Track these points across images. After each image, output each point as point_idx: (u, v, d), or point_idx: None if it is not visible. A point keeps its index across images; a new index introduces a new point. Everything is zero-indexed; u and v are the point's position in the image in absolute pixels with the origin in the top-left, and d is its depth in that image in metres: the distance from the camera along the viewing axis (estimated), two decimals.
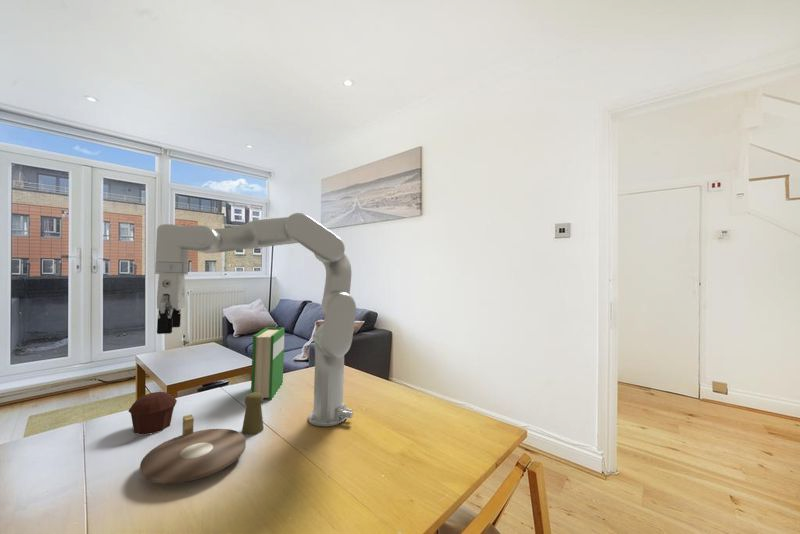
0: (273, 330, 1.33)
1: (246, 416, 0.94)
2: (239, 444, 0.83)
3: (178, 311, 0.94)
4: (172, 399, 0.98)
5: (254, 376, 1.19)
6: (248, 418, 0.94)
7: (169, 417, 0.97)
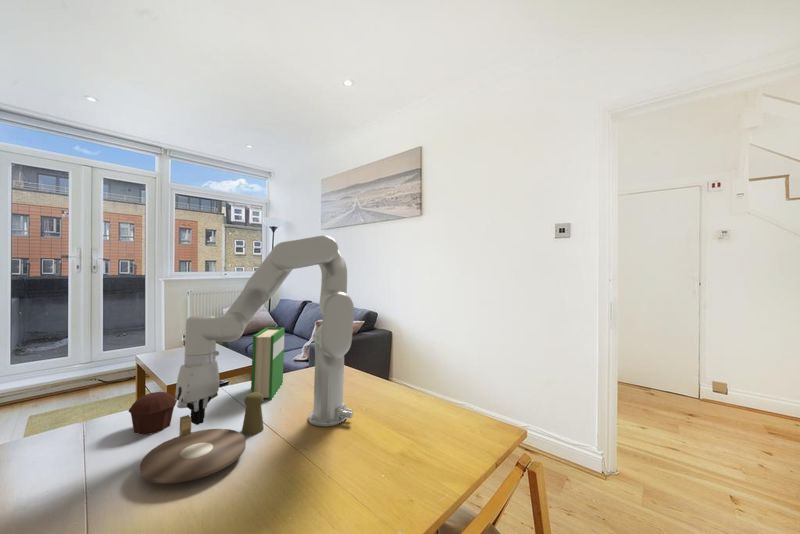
0: (273, 330, 1.33)
1: (246, 416, 0.94)
2: (239, 443, 0.83)
3: None
4: (172, 399, 0.98)
5: (254, 376, 1.19)
6: (248, 418, 0.94)
7: (169, 417, 0.97)
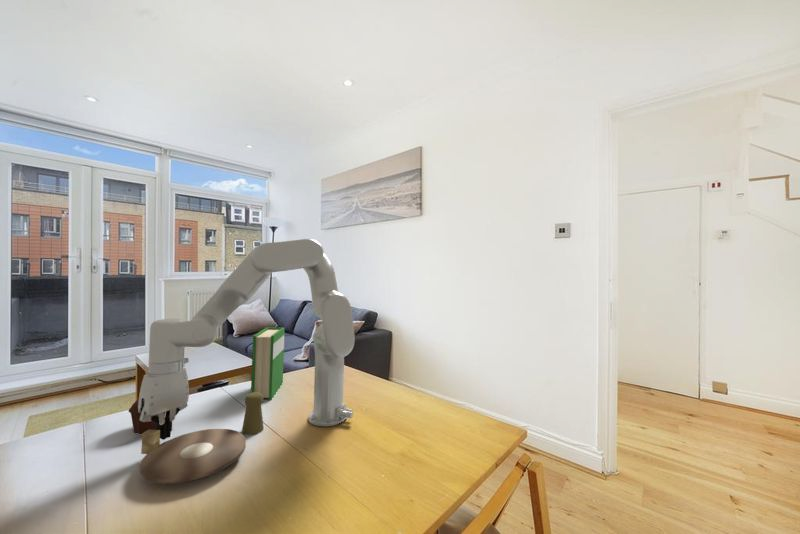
0: (273, 330, 1.33)
1: (246, 416, 0.94)
2: (232, 433, 0.88)
3: None
4: None
5: (254, 376, 1.19)
6: (248, 418, 0.94)
7: None
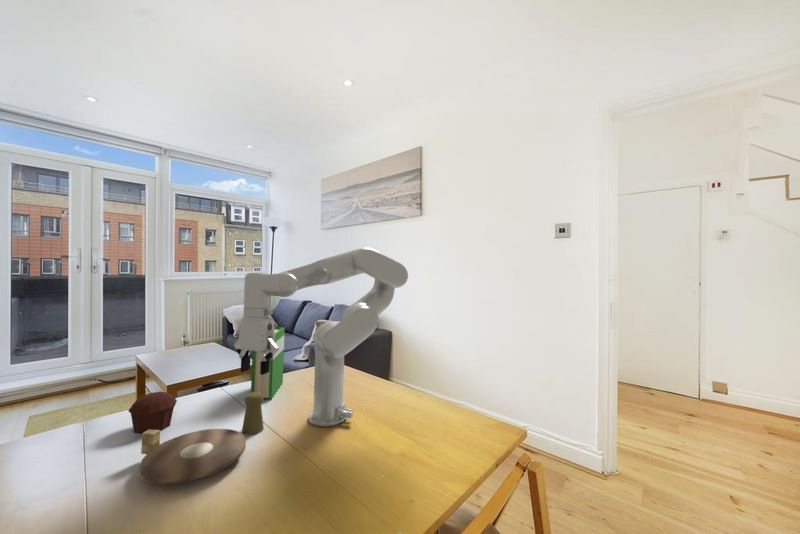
0: None
1: (246, 416, 0.94)
2: (232, 433, 0.88)
3: (248, 354, 0.99)
4: (172, 399, 0.98)
5: (254, 376, 1.19)
6: (248, 418, 0.94)
7: (169, 417, 0.97)
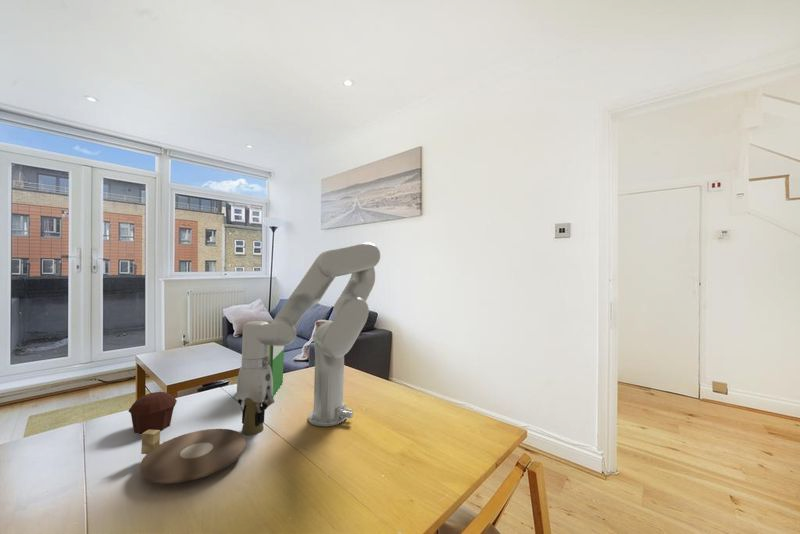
0: None
1: (246, 416, 0.94)
2: (232, 433, 0.88)
3: None
4: (172, 399, 0.98)
5: None
6: (248, 418, 0.94)
7: (169, 417, 0.97)
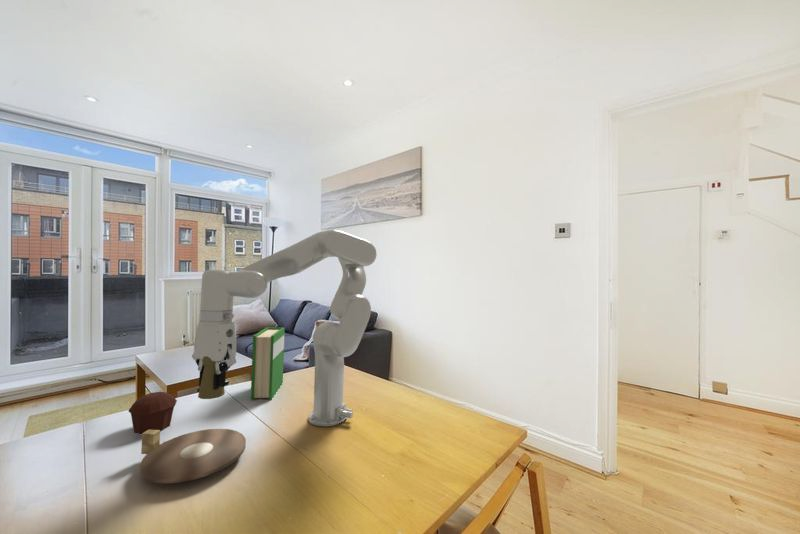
0: (273, 330, 1.33)
1: (203, 377, 0.81)
2: (232, 433, 0.88)
3: None
4: (172, 399, 0.98)
5: (254, 376, 1.19)
6: (205, 380, 0.81)
7: (169, 417, 0.97)
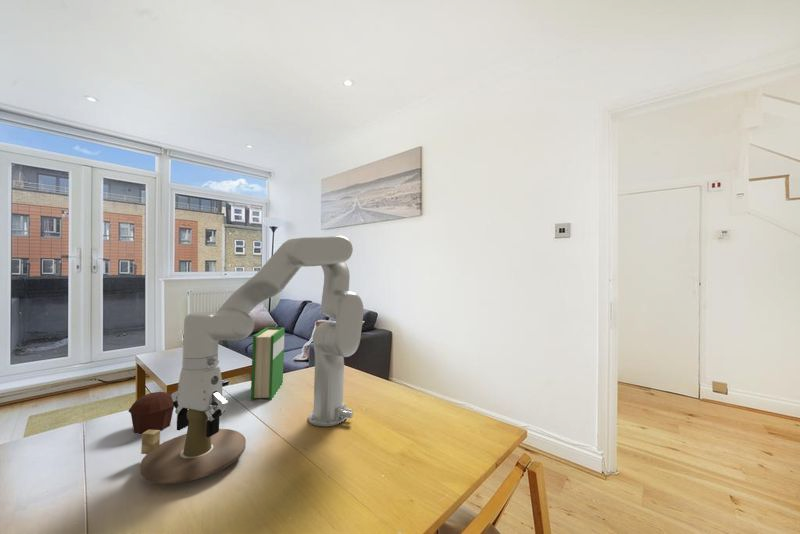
0: (273, 330, 1.33)
1: (188, 433, 0.78)
2: (232, 433, 0.88)
3: (188, 407, 0.82)
4: (172, 399, 0.98)
5: (254, 376, 1.19)
6: (190, 436, 0.77)
7: (169, 417, 0.97)
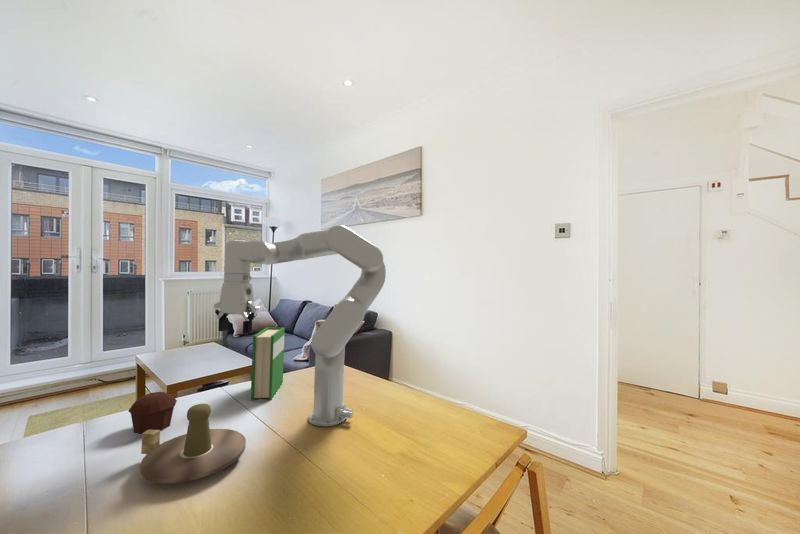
0: (273, 330, 1.33)
1: (188, 433, 0.78)
2: (232, 433, 0.88)
3: (226, 316, 1.05)
4: (172, 399, 0.98)
5: (254, 376, 1.19)
6: (190, 436, 0.77)
7: (169, 417, 0.97)
